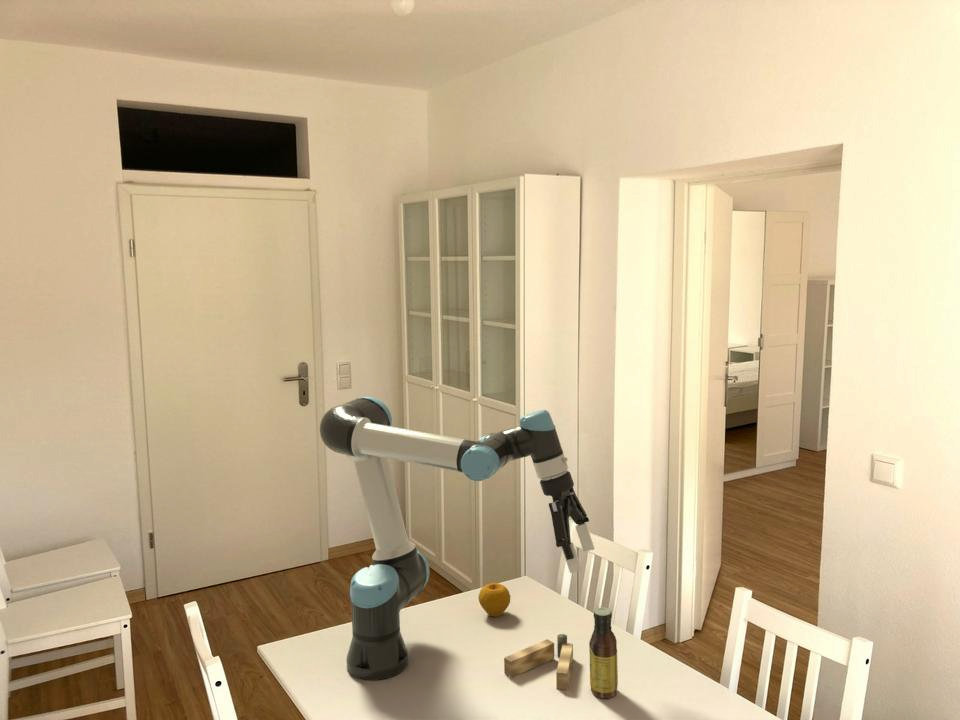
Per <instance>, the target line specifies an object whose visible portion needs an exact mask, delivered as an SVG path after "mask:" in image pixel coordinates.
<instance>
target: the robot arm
mask: <svg viewBox="0 0 960 720" xmlns="http://www.w3.org/2000/svg"><path fill="white" fill-rule="evenodd" d="M392 424H393V418H392V414H391V411H390V409H389V407H388V406H387V405H386V404H385V402H383V401H381V400H380V399H378V398H376V397H374V396H373V397H372V396H364V397H357V398H354V399H352V400H350V401H347V402H343V403H342V404H339V405H335V406H333V407H331V408H330V409H329V410H328V411H327V412H326V413H325V414H324V415H323V416H322V418H321V421H320V425H319V433H320V438H321V440H322V442H323V444H324V445H325V446H326V448H328V449H329V450H331V451H333V452H334V453H337V454H341V455H346V457H347V458H349V459H351V460H353V463H354V466H355V470H356V471H355V472H356V475H357V479H358V482H359V486H360V490H361V494H362V499H363V503H364V506H365V510H366V511H365V512H366V515H367V518H368V522H369V527H370V530H371V535H372V538H373V542H374V546H375V551H374V552H373V554H372V555H371V558H372V563H373V564H371V565H369V567H367V566H365V567H362V568H361V569H359V570H358V571H357V572H355V574H354V575H353V576H352V578H351V581H350V590H349V598H350V610H351V611H350V613H351V628H352V630H351V631H352V638H351V641H350V644H349V648H348V651H347V654H346V669H347V672H348V673H349V674H350V675H352V676H353V677H355V678H357V679H361V680H366V681H367V680H368V681H370V680H371V681H375V680H384V679H388V678H391V677H395V676H396V675H398V674H401V673H402V672H403V671H405V669H406V668H407V667H408V665H409V652H408V648H407V646H406V644H405V640H404V637H403V634H402V633H401V621H400V620H401V619H400V618H401V616H400V613H401V610H402V609H403V608H404V607H406V606H407V605H408V604H409V603H410V602H412V600H413V599H414V598H416V597H418V595H419V594H421V592H422V591H423V590H424V588H425V587H426V585H427V583H428V582H429V577H430V565H429V563H428V562H429V561H428V560H427V559H426V557H425V555H424V554H421V551H419V550H417V545H416V544H415V543H414V542H412V541H411V540H409V538H408V537H409V536H408V535H407V530H406V529H407V528H406V527H405V522H404V518H403V514H402V510H401V505H400V502H399V498H398V494H397V490H396V486H395V481H394V478H393V474H392V469H391V466H390V462H389V460H394V461H400V462H405V463H411V464H416V465H421V466H426V467H431V468H437V469H442V470H446V471H447V470H448V471H453V472H459V473H463V475H464V476H465V477H467V479H469V480H471V481H475V482H481V481H485V480H487V479H489V478H491V477H493V476H494V475H495V474H496V473H497V472H498V471H499V470H500V469H502V468H504V466H506V465H507V464H509V463H510V462H512V461H516V460H520V459H522V458H527V457H529V456H530V457H531V460H532V463H533V466H534V469H535V473H536V476H537V478H538V479H539V480H540V481H539V484H540V487H541V491H542V493H543V495H544V496H546V497H549V496H550V497H552V498H551V499H552V502H550V503H548V508H549V511H550V515H551V520H552V527H553V532H554V539H555V547H557V548H561V550H562V554H563V555H564V559H565V562H566V564H567V567H568V571H569V573H570V574H571V573H577V572H581V571H582V569H583V568H582V566H581V562H580V560H579V557H578V554H577V551H576V547H575V546H574V542H572V540H571V528H570V518H571V519H572V522H574V524H575V526H574V527H575V530H576V533H577V537H578V539H579V542H580V546H581V549H582V552H584V553H585V552H588V551H593V550H595V546H594V542H593V540H592V537H591V534H590V531H589V527H588V525H587V523H589V522H590V520H589V517H588V516H587V513H586V510H585V509H584V508H583V505H582V503H581V502H580V500H579V498H578V496H577V494H576V492H575V489H574V486H575V483H574V480H573V477H572V473H571V472H570V471H568V469H569V466H568V460H569V459H568V458H567V457H565V454H564V449H563V448H562V445H561V442H560V439H559V435H558V432H557V430H556V429H557V428H556V425H555V424H554V421H553V419H552V416H551V413H550V412H549V411H548V410H546V409H540V410H536V411H533V412H531V413H530V412H529V413H527V414H525V415H522V416H521V417H520V418H519V425H518V426H515V427H511V428H508V429H504V430H501V431H497V432H491V433H488V434H486V435H484V436H480V438H478V440H472V439H471V440H470V439H466V438H459V437H454V436H449V435H443V434H438V433H437V434H436V433H430V432H424V431H419V430H414V429H408V428H402V427H396V426H392Z"/></svg>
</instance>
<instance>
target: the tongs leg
mask: <svg viewBox="0 0 960 720" xmlns="http://www.w3.org/2000/svg"><path fill="white" fill-rule="evenodd" d="M553 659H555V642H554V641H551V640H550V639H544V640H542V641H540V642H538V643H535V644H532V645H530V646H528V647H526V648H524V649H521V650H519V651H516V652H514V653H512V654H509V655H508V656H505V657H504V658H503V663H504V664H503V668H504V671H503V673H504V675H506V676H508V677H510V679H511V678H514V677H516V676H518V675H520V674H523V673H525V672H527V671H530V670H531V669H533V668H536V667H538V666H540V665H542V664H545V663H547V662H549V661H551V660H553Z"/></svg>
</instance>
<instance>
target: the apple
mask: <svg viewBox="0 0 960 720" xmlns="http://www.w3.org/2000/svg"><path fill="white" fill-rule="evenodd" d="M509 591H510V590H509V589H508V588H507V587H506V586H505V585H503V584H502V583H499V582H490V583H488V584H485V585H484V586H483V587H482V588H481V589H480V591H479V593H478V598H477V599H478V602H479V604H480V606H481V608H482V609H483V610H484V612H485V613H486V614H488V616H489V617H490V616H491V617H493V618H494V617H495V618H498V617H501V616H502V615H503V614H504V613H505V611H506V610H507V609H508V607H509V605H510V603H511V595H510V592H509Z"/></svg>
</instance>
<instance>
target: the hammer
mask: <svg viewBox="0 0 960 720" xmlns="http://www.w3.org/2000/svg"><path fill="white" fill-rule="evenodd" d="M556 636H557V639H556V641H557V648H556V649H557V657H558V658H559V659H558V664H557V667H556V671H555V672H556V675H555V676H556V678H555V679H556V683H555V684H556V685H555V686H556V689H557V690H565V691H566V690H568V688H569V683H570V677H571V672H572V666H573V662H574V661H573V660H574V644H573V643H569V642H568V635H567V634H565V633H559V634H558V635H556Z"/></svg>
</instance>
